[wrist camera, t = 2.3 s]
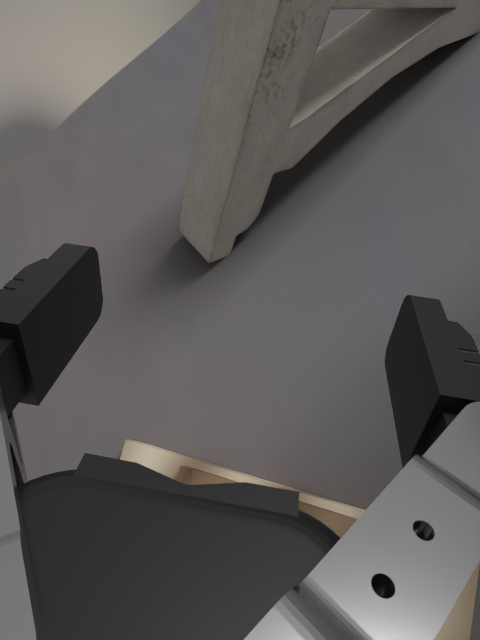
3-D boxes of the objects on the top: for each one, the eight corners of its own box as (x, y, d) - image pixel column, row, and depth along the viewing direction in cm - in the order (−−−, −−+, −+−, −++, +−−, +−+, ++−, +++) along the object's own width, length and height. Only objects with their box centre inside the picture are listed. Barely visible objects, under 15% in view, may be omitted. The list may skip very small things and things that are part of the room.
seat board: (475, 543, 28) (486, 551, 26) (450, 728, 26) (459, 755, 23) (135, 440, 35) (119, 439, 33) (92, 579, 33) (72, 588, 30)
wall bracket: (410, 182, 53) (209, 263, 36) (382, 161, 55) (177, 229, 38) (555, -51, 36) (305, -96, 20) (509, -72, 38) (242, -129, 21)
